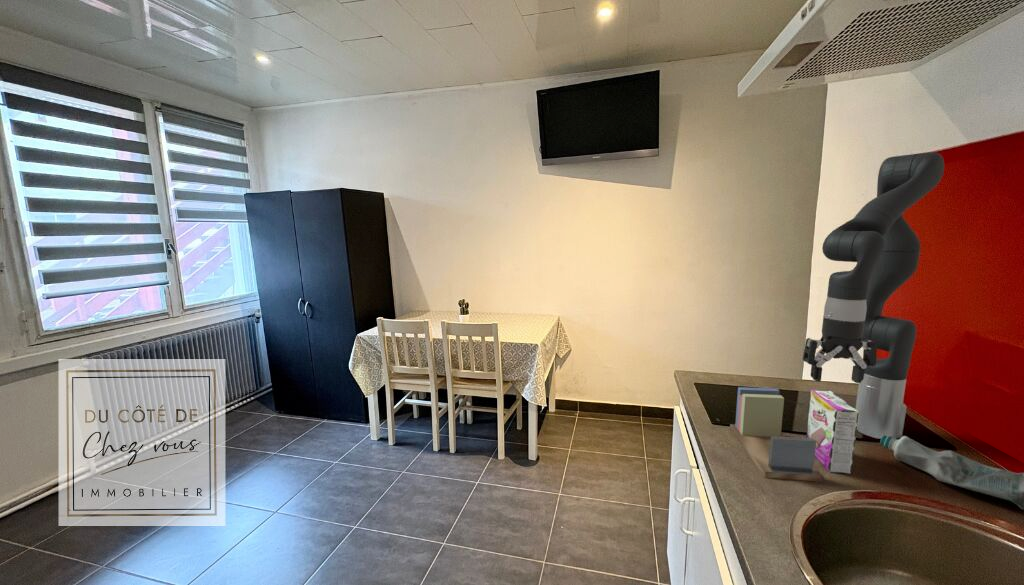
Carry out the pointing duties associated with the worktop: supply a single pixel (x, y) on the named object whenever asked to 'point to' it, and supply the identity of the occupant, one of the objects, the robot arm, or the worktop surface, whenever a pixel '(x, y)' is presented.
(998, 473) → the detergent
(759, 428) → the row of books
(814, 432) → the candy bar box
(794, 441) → the bookend
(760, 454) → the shelf board
